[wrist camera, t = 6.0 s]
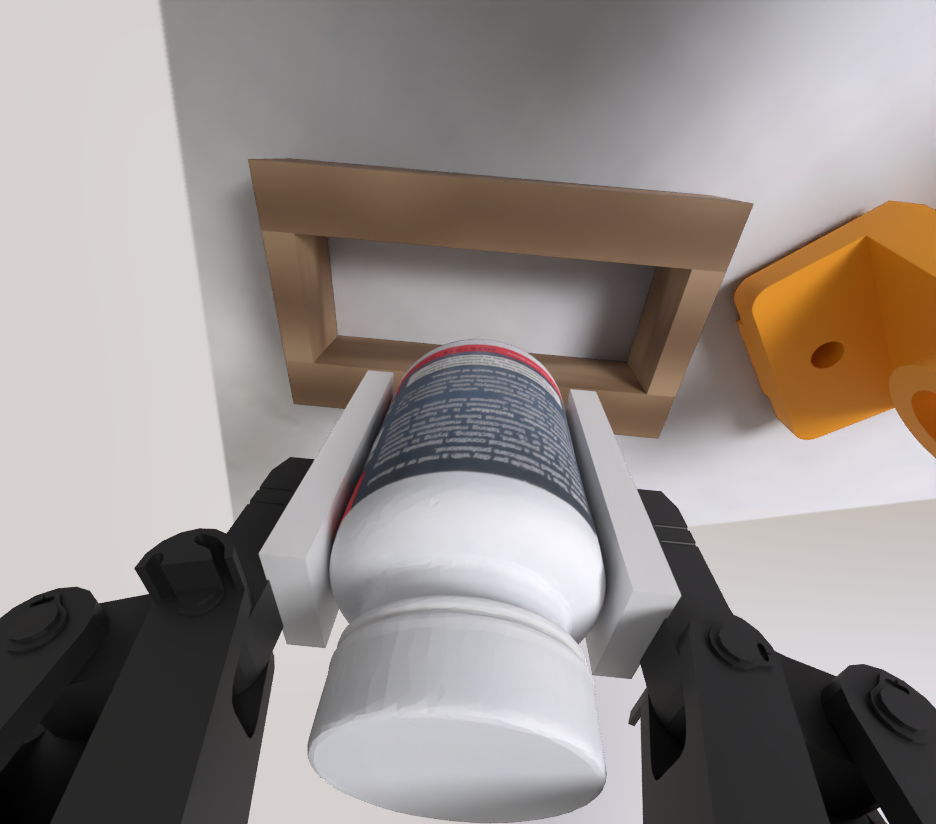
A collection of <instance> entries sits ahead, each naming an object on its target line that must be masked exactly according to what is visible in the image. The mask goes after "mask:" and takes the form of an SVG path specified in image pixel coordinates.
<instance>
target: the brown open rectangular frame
mask: <svg viewBox="0 0 936 824" xmlns="http://www.w3.org/2000/svg"><path fill="white" fill-rule="evenodd" d="M248 162H249V167H250V172H251V178H252V183H253V188H254V194H255V199H256V204H257V210H258V215H259V221H260V226H261V231H262V237H263V242H264V247H265V253H266V258H267V263H268V269H269V274H270V279H271V285H272V290H273V295H274V301H275V306H276V311H277V317H278V322H279V328H280V333H281V338H282V344H283V349H284V354H285V360H286V365H287V370H288V376H289V381H290V386H291V392H292V397H293V402H294V404H300V405H310V406H321V407H331V408H342V409H345V408H346V406H347V405H348V403H349V401H350V400H351V398H352V396H353V395H354V393H355V391H356V390H357V388H358V386H359V385H360V383H361V381H362V380H363V378H364V376H365V375H366V373H367V371H368V370H371V371H382V372H392V373H394V394H395V392H396V390H397V388H398V386H399V383H400V381H401V380H402V378H403V376H404V375H405V373H406V372H407V371H408V370H409V368H410V367H411V366H412V365H413V364H414V363H415V362H416V361H417V360H419V359H420V358H421V357H423V356H424V355H425V354H427V353H428V352H430V351H432V350H434V349H436V348H438V347H440V346H443V345H436V344H425V343H415V342H404V341H393V340H382V339H372V338H361V337H350V336H339V335H338V333H337V323H336V314H335V304H334V295H333V286H332V276H331V267H330V257H329V248H328V239H327V236H328V237H339V238H350V239H361V240H372V241H383V242H394V243H405V244H417V245H428V246H439V247H450V248H461V249H472V250H483V251H494V252H505V253H516V254H528V255H539V256H550V257H561V258H572V259H583V260H594V261H605V262H616V263H627V264H639V265H650V266H657V268H656V271H655V274H654V277H653V280H652V284H651V287H650V290H649V293H648V296H647V299H646V303H645V306H644V309H643V312H642V315H641V319H640V322H639V325H638V328H637V331H636V334H635V338H634V341H633V344H632V347H631V350H630V353H629V357H628V360H627V362H619V361H608V360H598V359H587V358H576V357H565V356H555V355H544V354H533V353H528V354H529V355H531V356H532V357H534V358H535V359H536V360H537V361H539V362H540V363H541V364H542V365H543V366H544V367H545V368H546V369H547V371H548V372H549V373H550V375H551V376H552V377H553V379H554V381H555V383H556V385H557V387H558V389H559V391H560V394H561V397H562V401H563V405H564V409H566V405H567V401H568V397H569V393H570V389H574V390H585V391H596V393H597V395H598V398H599V400H600V402H601V405H602V407H603V410H604V412H605V414H606V417H607V419H608V422H609V424H610V426H611V429H612V431H613V433H614V434H616V435H626V436H637V437H647V438H659V435H660V433H661V431H662V428H663V426H664V423H665V421H666V418H667V416H668V413H669V411H670V408H671V406H672V404H673V401H674V399H675V396H676V394H677V391H678V389H679V386H680V384H681V381H682V379H683V376H684V374H685V372H686V369H687V367H688V364H689V362H690V359H691V357H692V354H693V352H694V349H695V347H696V344H697V342H698V340H699V337H700V335H701V332H702V330H703V327H704V325H705V322H706V320H707V317H708V315H709V313H710V310H711V308H712V305H713V303H714V300H715V298H716V295H717V293H718V290H719V288H720V285H721V283H722V281H723V278H724V276H725V273H726V271H727V268H728V266H729V263H730V261H731V258H732V256H733V253H734V251H735V249H736V246H737V244H738V241H739V239H740V236H741V234H742V231H743V229H744V226H745V224H746V222H747V219H748V217H749V214H750V212H751V209H752V207H753V204H752V203H747V202H742V201H737V200H731V199H726V198H721V197H716V196H710V195H699V194H688V193H676V192H665V191H654V190H642V189H631V188H619V187H608V186H597V185H585V184H574V183H563V182H551V181H540V180H529V179H517V178H506V177H494V176H483V175H472V174H460V173H449V172H438V171H426V170H415V169H403V168H392V167H381V166H369V165H358V164H347V163H335V162H324V161H313V160H301V159H290V158H288V159H248Z"/></svg>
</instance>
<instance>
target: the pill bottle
mask: <svg viewBox="0 0 936 824" xmlns="http://www.w3.org/2000/svg"><path fill="white" fill-rule="evenodd" d="M329 573H330V582H331V587H332V592H333V595H334V598H335V600H336V603H337V605H338V607H339V609H340V611H341V612H342V614H343V616H344V617H345V618H346V620H347V621H348V623H349V625H348V626H347V627H346V629H345V630H344V631H343V633H342V635H341V637H340V640H339V642H338V645H337V649H336V650H335V652H334V654H333V656H332V659H331V662H330V665H329V671H328V676H327V679H326V682H325V686H324V689H323V693H322V696H321V699H320V702H319V706H318V709H317V713H316V716H315V719H314V723H313V726H312V730H311V733H310V737H309V741H308V759H309V762H310V764H311V766H312V767H313V769H314V770H315V772H316V773H317V774H318V775H319V776H320V777H321V778H323V779H324V780H325V781H326V782H327V783H329V784H330V785H331V786H333V787H334V788H336V789H337V790H339V791H342V792H344V793H346V794H348V795H350V796H353V797H355V798H357V799H359V800H362V801H364V802H367V803H370V804H373V805H376V806H379V807H382V808H385V809H389V810H392V811H395V812H400V813H405V814H409V815H415V816H420V817H427V818H434V819H441V820H449V821H460V822H471V823H510V822H522V821H530V820H538V819H544V818H549V817H555V816H559V815H562V814H566V813H569V812H572V811H574V810H576V809H578V808H581V807H583V806H585V805H587V804H588V803H590V802H591V801H592V800H594V799H595V798H596V797H597V796H598V795H599V794H600V793H601V791H602V790H603V787H604V785H605V782H606V774H607V773H606V765H605V757H604V750H603V744H602V736H601V729H600V722H599V716H598V709H597V703H596V694H595V686H594V682H593V679H592V676H591V673H590V671H589V669H588V668H587V662H586V659H585V656H584V654H583V652H582V650H581V649H580V647H579V645H578V644H579V643H580V642H581V641H582V640H583V639H584V638H585V637H586V636H587V634H588V633H589V632H590V631H591V629H592V628H593V626H594V625H595V623H596V621H597V619H598V617H599V615H600V612H601V610H602V607H603V604H604V598H605V591H606V577H605V569H604V564H603V559H602V554H601V550H600V545H599V541H598V538H597V534H596V531H595V527H594V522H593V519H592V516H591V513H590V510H589V506H588V503H587V499H586V495H585V491H584V488H583V484H582V481H581V477H580V473H579V470H578V466H577V462H576V458H575V454H574V449H573V445H572V441H571V436H570V432H569V427H568V423H567V418H566V414H565V409H564V405H563V401H562V397H561V394H560V391H559V389H558V387H557V385H556V383H555V381H554V379H553V377H552V376H551V375H550V373H549V372H548V371H547V369H546V368H545V367H544V366H543V365H542V364H541V363H540V362H539V361H537V360H536V359H535V358H534V357H532V356H531V355H529V354H528V353H526V352H525V351H523V350H521V349H519V348H516V347H514V346H512V345H509V344H505V343H502V342H497V341H492V340H481V339H470V340H462V341H456V342H452V343H448V344H446V345H443V346H440V347H438V348H436V349H434V350H432V351H430V352H428V353H427V354H425V355H424V356H423V357H421V358H420V359H419V360H417V361H416V362H415V363H414V364H413V365H412V366H411V367H410V368H409V370H408V371H407V372H406V373H405V375H404V376H403V378H402V380H401V381H400V383H399V386H398V388H397V390H396V392H395V394H394V396H393V399H392V402H391V404H390V406H389V409H388V411H387V414H386V416H385V419H384V421H383V423H382V426H381V428H380V431H379V433H378V436H377V438H376V440H375V442H374V445H373V447H372V449H371V452H370V454H369V457H368V459H367V462H366V464H365V466H364V469H363V471H362V473H361V476H360V478H359V480H358V483H357V485H356V487H355V490H354V492H353V495H352V497H351V499H350V501H349V503H348V506H347V508H346V511H345V513H344V516H343V518H342V521H341V523H340V526H339V529H338V531H337V535H336V538H335V541H334V544H333V548H332V553H331V557H330V567H329Z"/></svg>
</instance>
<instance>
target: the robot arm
mask: <svg viewBox="0 0 936 824" xmlns="http://www.w3.org/2000/svg"><path fill="white" fill-rule="evenodd" d="M393 396H394V373H392V372H382V371H371V370H368V371H367V373H366V375H365V376H364V378H363V380H362V381H361V383H360V385H359V386H358V388H357V390H356V391H355V393H354V395H353V396H352V398H351V400H350V401H349V403H348V405H347V406H346V408H345V410H344V411H343V413H342V415H341V417H340V418H339V420H338V422H337V423H336V425H335V427H334V428H333V430H332V432H331V433H330V435H329V437H328V438H327V440H326V442H325V443H324V445H323V447H322V448H321V450H320V452H319V453H318V455H317V457H316V458H315V459H305V458H295V457H290V458H288V459H287V460H286V461H284V462H283V463H281V464H280V465H279V466H277V467H276V468H274V469H273V470H272V471H271V472H270V473H269V475H268V476H267V478H266V479H265V481H264V482H263V483H262V485H261V486H260V490H257V492H256V493H255V495H254V496H253V497H252V499H251V500H250V504H247V506H246V507H245V509H244V510H243V511H242V513H241V514H240V516H239V517H238V518H237V520H236V521H235V523H234V524H233V525H232V527H231V528H230V530H229V531H228V532H227V534H226V533H223V532H221V531H219V530H217V529H202V528H199V529H195V530H190V531H186V532H181V533H179V534H177V535H175V536H173V537H170V538H168V539H167V540H164V541H162V542H161V543H159V544H158V545H157V546H155V547H154V548H153V549H151V550H150V551H149V552H147V553H146V554H145V555H144V557H143V558H142V559H141V560H140V562H139V563H138V564H137V566H136V567H135V570H136V572H137V574H138V575H139V577H140V578H141V580H142V582H143V584H144V585H145V587H146V589H147V591H148V592H149V594H147V595H142V596H136V597H131V598H126V599H120V600H115V601H110V602H104V603H98V602H97V600H96V599H95V598H94V596H93V595H92V593H91V592H90V591H88V590H85V589H82V588H79V587H69V588H58V589H55V590H52V591H49V592H46V593H43V594H40V595H37V596H34V597H33V598H31V599H29V600H27V601H25V602H23V603H22V604H20V605H18V606H16V607H14V608H13V609H11V610H10V611H9V612H8V613H6V614H5V615H4V616H2V617H1V618H0V824H247V823H248V817H249V811H250V805H251V800H252V794H253V789H254V783H255V777H256V771H257V766H258V760H259V755H260V749H261V742H262V737H263V732H264V726H265V720H266V715H267V708H268V703H269V698H270V692H271V686H272V681H273V674H274V655H273V652H272V651H273V649H274V647H275V645H276V642H277V640H278V638H279V636H280V633H281V631H282V630H283V633H284V636H285V639H286V642H287V644H291V645H300V646H311V647H320V648H325V647H326V645H327V642H328V639H329V636H330V633H331V630H332V627H333V624H334V622H335V619H336V616H337V613H338V610H339V607H338V605H337V603H336V600H335V598H334V595H333V592H332V587H331V582H330V573H329V567H330V557H331V553H332V548H333V544H334V541H335V538H336V535H337V531H338V529H339V526H340V523H341V521H342V518H343V516H344V513H345V511H346V508H347V506H348V503H349V501H350V499H351V497H352V495H353V492H354V490H355V487H356V485H357V483H358V480H359V478H360V476H361V473H362V471H363V469H364V466H365V464H366V462H367V459H368V457H369V454H370V452H371V449H372V447H373V445H374V442H375V440H376V438H377V436H378V433H379V431H380V428H381V426H382V423H383V421H384V419H385V416H386V414H387V411H388V409H389V406H390V404H391V402H392V399H393ZM565 414H566V418H567V423H568V427H569V432H570V436H571V441H572V445H573V449H574V454H575V458H576V462H577V466H578V470H579V473H580V477H581V481H582V484H583V488H584V491H585V495H586V499H587V503H588V506H589V510H590V513H591V516H592V519H593V522H594V527H595V531H596V534H597V538H598V541H599V545H600V550H601V554H602V559H603V564H604V569H605V577H606V591H605V598H604V604H603V607H602V610H601V612H600V615H599V617H598V619H597V621H596V623H595V625H594V626H593V628H592V629H591V631H590V632H589V633H588V634H587V636H586V643H587V648H588V653H589V658H590V664H591V670H592V675H597V676H607V677H617V678H627V679H632V677H633V675H634V674H635V672H636V670H637V668H638V667H639V665H640V664H641V668H642V671H643V675H644V678H645V682H646V686H647V688H646V689H645V691H644V692H643V694H642V695H641V697H640V698H639V700H638V701H637V703H636V704H635V706H634V707H633V709H632V710H631V713H630V718H629V723H628V724H630V725H633V726H635V724H636V723H637V721H638V720H639V719H640V717H641V753H642V796H643V824H887V823H886V822H885V821H884V819H883V818H882V816H881V815H880V814H879V812H878V810H877V808H879V807H880V808H881V810H882V811H883V813H884V815H885V817H886V818H887V820H888V822H889V824H936V709H935V707H933V705H932V704H931V703H930V702H929V701H928V700H927V699H926V698H925V697H924V696H922V695H921V694H920V693H918V692H917V691H916V690H915V689H913V688H912V687H911V686H909V685H908V684H907V683H906V682H904V681H902V680H900V679H899V678H897V677H895V676H893V675H891V674H889V673H888V672H886V671H884V670H882V669H879V668H875V667H872V666H868V665H865V664H860V665H849V666H848V667H847V668H846V669H845V670H844V671H842V672H841V673H840V674H839V675H838V676H834V675H831V674H829V673H826V672H824V671H821V670H819V669H816V668H814V667H811V666H809V665H806V664H803V663H801V662H798V661H796V660H793V659H791V658H788V657H786V656H784V655H782V654H780V653H777V652H776V651H774V650H773V647H772V646H771V645H770V644H769V643H768V641H767V640H766V639H765V638H764V637H763V636H762V634H761V633H760V632H759V631H758V630H757V629H755V628H754V627H753V626H751V625H750V624H749V623H747V622H746V621H745V620H743V619H742V618H739V617H737V616H735V615H733V613H732V612H731V610H730V608H729V607H728V605H727V603H726V601H725V599H724V597H723V595H722V593H721V591H720V589H719V587H718V585H717V584H716V581H715V579H714V577H713V575H712V574H711V572H710V570H709V568H708V566H707V564H706V562H705V560H704V558H703V556H702V554H701V552H700V550H699V548H698V547H696V545H695V540H694V539H693V537H692V535H691V533H690V531H688V530H687V525H686V523H685V521H684V519H683V517H682V515H681V513H680V511H679V509H678V508H677V507H676V506H675V505H674V504H673V503H672V502H671V501H670V500H669V499H668V498H667V497H666V496H665V495H664V494H663V493H662V492H661V491H652V490H642V489H637V488H636V486H635V484H634V481H633V479H632V476H631V474H630V472H629V469H628V467H627V464H626V462H625V460H624V457H623V455H622V453H621V450H620V448H619V445H618V443H617V441H616V438H615V436H614V433H613V431H612V429H611V426H610V424H609V422H608V419H607V417H606V414H605V412H604V410H603V407H602V405H601V402H600V400H599V398H598V395H597V393H596V391H585V390H574V389H570V393H569V397H568V401H567V405H566V409H565Z"/></svg>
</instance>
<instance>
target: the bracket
mask: <svg viewBox="0 0 936 824" xmlns="http://www.w3.org/2000/svg"><path fill="white" fill-rule="evenodd" d="M734 302H735V305H736V308H737V311H738V313H739V316H740V320H738V321H736V322H737V325H738V327H739V330H740V333H741V335H742V338H743V341H744V343H745V346H746V349H747V351H748V354H749V357H750V359H751V362H752V365H753V368H754V370H755V373H756V376H757V378H758V381H759V384H760V386H761V389H762V392H763V393H764V394H765V395H766V396H768V397H769V398H770V401H771V403H772V406H773V409H774V412H775V414H776V417H777V419H778V420H780V421H781V422H782V423H783V424H784V425H785V426H786V427H787V428H788V429H789V430H790V431H791V432H792V433H793V434H794V435H796V436H797V437H798V438H800V439H803V440H811V439H815V438H818V437H821V436H823V435H826V434H828V433H831V432H833V431H836V430H839V429H841V428H844V427H846V426H849V425H851V424H854V423H857V422H859V421H862V420H864V419H867V418H870V417H872V416H875V415H877V414H880V413H882V412H885V411H888V410H890V409H893V408H896V410H897V412H898V414H899V416H900V417H901V419H902V420H903V422H904V424H905V425H906V426H907V428H908V429H909V430H910V432H911V433H912V434H913V435H914V437H915V438H916V439H917V440H918V441H919V442H920V443H921V444H922V445H923V447H924V448H925V449H926V450H927V451H929V452H930V453H931V454H932V455H933V456H934V457H935V458H936V210H935V209H932V208H930V207H928V206H926V205H923V204H914V203H906V202H897V201H888V202H886V203H884V204H882V205H880V206H878V207H877V208H875V209H873V210H871V211H869V212H867V213H866V214H864V215H862V216H860V217H858V218H856V219H854V220H853V221H851V222H849V223H847V224H845V225H843V226H841V227H840V228H838V229H836V230H834V231H832V232H830V233H829V234H827V235H825V236H823V237H821V238H819V239H817V240H816V241H814V242H812V243H810V244H808V245H806V246H805V247H803V248H801V249H799V250H797V251H795V252H793V253H792V254H790V255H788V256H786V257H784V258H782V259H780V260H779V261H777V262H775V263H773V264H771V265H769V266H768V267H766V268H764V269H762V270H760V271H758V272H756V273H755V274H753V275H751V276H749V277H747V278H746V279H745V280H743V281H742V282H741V283H740V285H739V286H738V287H737V289H736V291H735V294H734Z"/></svg>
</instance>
